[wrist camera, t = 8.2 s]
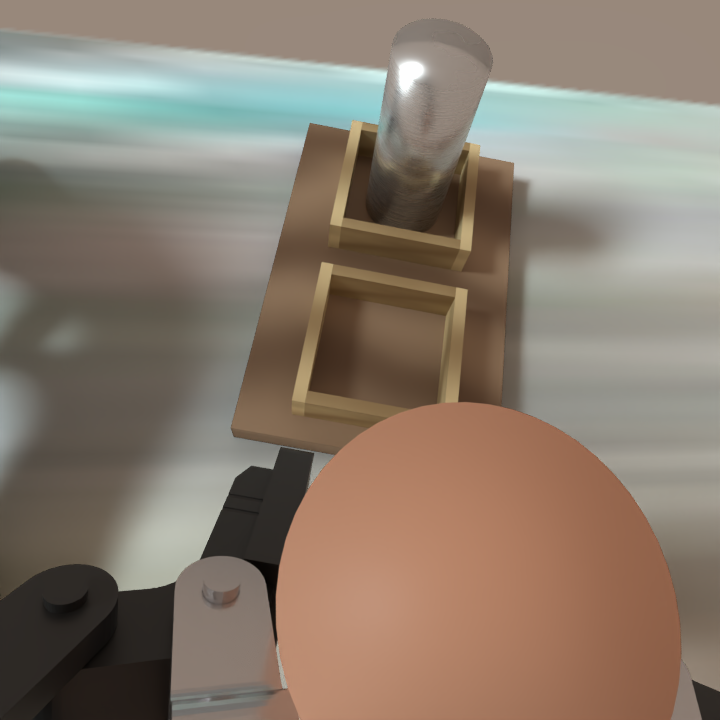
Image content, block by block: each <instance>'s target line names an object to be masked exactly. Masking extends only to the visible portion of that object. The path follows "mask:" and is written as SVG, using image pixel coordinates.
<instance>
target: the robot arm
mask: <svg viewBox="0 0 720 720" xmlns="http://www.w3.org/2000/svg"><path fill="white" fill-rule="evenodd" d="M313 456H314V453H311V452H305V451H300V450H294V449H288V448H283V447H281V448H280V451H279V454H278V457H277V460H276V463H275V466H274V469H273V470H272V469H267V468H261V467H255V466H250V467H249V468H248V469H246V470H245V471H244V472H242V473H241V474H240V475H238V476H237V477H236V478H235V480H234V482H233V485H232V487H231V489H230V492H229V495H228V496H227V499H226V501H225V503H224V505H223V509H222V510H221V512H220V515H219V517H218V519H217V522H216V524H215V526H214V529H213V531H212V533H211V535H210V538H209V540H208V542H207V545H206V547H205V549H204V552H203V554H202V556H201V558H200V560H198V561H196V562H194V563H192V564H191V565H189V566H188V567H187V568H186V569H185V570H184V571H183V572H182V573H181V574H180V575H179V577H178V579H177V581H176V582H174V583H171V584H169V585H166V586H162V587H158V588H152V589H142V590H131V591H119V592H118V586H117V583H116V581H115V580H114V578H113V577H112V576H111V575H110V574H109V573H108V572H106V571H104V570H102V569H100V568H97V567H94V566H90V565H81V564H74V565H64V566H59V567H55V568H51V569H49V570H46V571H43V572H41V573H39V574H37V575H35V576H34V577H32V578H31V579H29V580H28V581H26V582H25V583H24V584H22V585H21V586H20V587H18V588H17V589H16V590H14V591H13V592H12V593H10V594H9V595H8V596H6V597H5V598H4V599H2V600H1V601H0V720H299V716H298V712H297V710H296V707H295V705H294V702H293V700H292V697H291V695H290V692H289V690H288V688H287V689H283V688H282V684H281V679H280V673H279V666H278V660H277V653H276V646H277V641H278V637H277V629H276V591H277V582H278V573H279V565H280V561H281V557H282V553H283V549H284V544H285V540H286V537H287V534H288V532H289V529H290V526H291V524H292V521H293V518H294V516H295V513H296V511H297V509H298V507H299V506H300V504H301V502H302V500H303V498H304V496H305V494H306V492H307V490H308V484H309V479H310V473H311V468H312V462H313ZM671 720H720V692H719V691H716V690H714V689H712V688H709V687H707V686H705V685H702V684H700V683H698V682H695V681H693V680H691V676H690V673H689V671H688V669H687V667H686V665H685V663H684V662H683V661H682V659H681V665H680V678H679V686H678V691H677V696H676V701H675V706H674V710H673V714H672V717H671Z"/></svg>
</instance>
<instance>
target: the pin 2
mask: <svg viewBox="0 0 720 720" xmlns="http://www.w3.org/2000/svg"><path fill="white" fill-rule="evenodd" d="M276 629H277V637H278V644H279V652H280V659H281V663H282V667H283V670H284V674H285V678H286V682H287V686H288V690H289V692H290V695H291V697H292V700H293V702H294V705H295V707H296V710H297V712H298V715H299V718H300V720H671V717H672V714H673V710H674V706H675V701H676V696H677V691H678V686H679V678H680V665H681V632H680V620H679V613H678V607H677V600H676V595H675V591H674V587H673V583H672V580H671V576H670V572H669V568H668V566H667V563H666V561H665V558H664V555H663V553H662V550H661V548H660V545H659V542H658V540H657V538H656V536H655V535H654V533H653V531H652V529H651V527H650V525H649V523H648V521H647V519H646V517H645V516H644V514H643V512H642V511H641V509H640V508H639V506H638V505H637V503H636V502H635V500H634V499H633V497H632V496H631V494H630V493H629V492H628V491H627V489H626V488H625V487H624V486H623V484H622V483H621V482H620V481H619V480H618V478H617V477H616V476H615V475H614V474H613V473H612V472H611V471H610V470H609V469H608V468H607V467H606V466H605V465H604V464H603V463H602V462H601V461H600V460H599V459H598V458H597V457H596V456H595V455H594V454H593V453H591V452H590V451H589V450H588V449H586V448H585V447H584V446H583V445H581V444H580V443H579V442H578V441H576V440H575V439H573V438H572V437H570V436H568V435H567V434H565V433H564V432H562V431H560V430H559V429H557V428H556V427H554V426H552V425H550V424H547V423H545V422H543V421H541V420H539V419H537V418H535V417H533V416H530V415H527V414H524V413H521V412H518V411H516V410H513V409H509V408H504V407H500V406H495V405H491V404H482V403H471V402H452V403H439V404H433V405H427V406H421V407H417V408H414V409H411V410H407V411H404V412H401V413H398V414H396V415H394V416H391V417H389V418H387V419H385V420H383V421H380V422H378V423H377V424H375V425H373V426H372V427H370V428H369V429H367V430H365V431H364V432H362V433H361V434H359V435H358V436H356V437H355V438H354V439H353V440H352V441H350V442H349V443H348V444H347V445H345V446H344V447H343V448H342V449H341V450H340V451H339V452H338V453H337V454H336V455H335V456H334V457H333V458H332V459H331V460H330V461H329V462H328V463H327V465H326V466H325V467H324V468H323V469H322V470H321V472H320V473H319V475H318V476H317V477H316V479H315V480H314V482H313V483H312V485H311V486H310V487H309V489H308V490H307V492H306V494H305V496H304V498H303V500H302V502H301V504H300V506H299V507H298V509H297V511H296V513H295V516H294V518H293V521H292V524H291V526H290V529H289V532H288V534H287V537H286V540H285V544H284V549H283V553H282V557H281V561H280V565H279V573H278V582H277V591H276Z"/></svg>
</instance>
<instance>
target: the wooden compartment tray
mask: <svg viewBox="0 0 720 720" xmlns="http://www.w3.org/2000/svg"><path fill="white" fill-rule="evenodd" d="M377 131H378V125H375V124H370V123H365V122H360V121H355V120H352V125H351V130H350V131H348V130H343V129H338V128H333V127H328V126H323V125H317V124H312V123H310V125H309V128H308V132H307V136H306V140H305V144H304V148H303V152H302V155H301V159H300V163H299V167H298V171H297V175H296V179H295V182H294V186H293V190H292V194H291V198H290V202H289V206H288V209H287V213H286V217H285V221H284V225H283V229H282V232H281V236H280V240H279V244H278V248H277V252H276V256H275V259H274V263H273V267H272V271H271V275H270V279H269V283H268V286H267V290H266V294H265V298H264V302H263V306H262V310H261V313H260V317H259V321H258V325H257V329H256V333H255V337H254V340H253V344H252V348H251V352H250V356H249V360H248V364H247V367H246V371H245V375H244V379H243V383H242V387H241V391H240V394H239V398H238V402H237V406H236V410H235V414H234V418H233V421H232V425H231V430H232V433H233V436H234V437H238V438H244V439H249V440H255V441H261V442H266V443H272V444H278V445H283V446H289V447H294V448H300V449H306V450H311V451H317V452H322V453H328V454H334V455H336V454H337V453H338V452H339V451H340V450H341V449H342V448H343V447H344V446H345V445H347V444H348V443H349V442H350V441H352V440H353V439H354V438H355V437H356V436H358V435H359V434H361V433H362V432H364V431H365V430H367V429H369V428H370V427H372V426H373V425H375V424H377V423H378V422H380V421H383V420H385V419H387V418H389V417H391V416H394V415H396V414H398V413H401V412H404V411H407V410H411V409H414V408H417V407H421V406H427V405H433V404H439V403H452V402H471V403H482V404H491V405H495V406H500V407H501V402H502V383H503V364H504V345H505V326H506V306H507V287H508V268H509V249H510V230H511V210H512V191H513V172H514V163H511V162H506V161H501V160H496V159H491V158H485V157H480V156H479V153H480V145H477V144H471V143H466V142H465V144H464V147H463V149H462V152H461V155H460V158H459V160H458V163H457V166H456V169H455V172H454V174H453V177H452V180H451V183H450V185H449V188H448V191H447V194H446V197H445V199H444V202H443V205H442V208H441V210H440V213H439V216H438V219H437V221H436V222H435V224H434V225H433V226H432V227H431V228H430V229H428V230H427V231H425V232H423V233H422V232H416V231H411V230H406V229H401V228H396V227H390V226H385V225H380V224H376V223H375V222H374V221H373V220H372V219H371V217H370V216H369V214H368V212H367V208H366V195H367V189H368V183H369V178H370V172H371V166H372V160H373V154H374V148H375V142H376V137H377Z"/></svg>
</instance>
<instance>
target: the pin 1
mask: <svg viewBox="0 0 720 720" xmlns="http://www.w3.org/2000/svg"><path fill="white" fill-rule="evenodd" d="M492 59H493V58H492V54H491V51H490V48H489V47H488V45H487V44H486V42H485V41H484V40H483V39H482V38H481V37H480V36H479V35H478V34H477V33H475V32H474V31H473V30H471V29H470V28H467V27H466V26H464V25H461V24H459V23H456V22H453V21H449V20H444V19H422V20H418V21H414V22H411V23H409V24H407V25H405V26H404V27H403V28H401V29H400V30H399V31H398V32H397V34H396V35H395V37H394V39H393V43H392V49H391V55H390V60H389V66H388V72H387V78H386V84H385V90H384V96H383V101H382V107H381V113H380V119H379V125H378V131H377V137H376V142H375V148H374V154H373V160H372V166H371V172H370V178H369V183H368V189H367V195H366V208H367V212H368V214H369V216H370V217H371V219H372V220H373V221H374V222H375V223H376V224H380V225H385V226H390V227H396V228H401V229H406V230H411V231H416V232H422V233H423V232H425V231H427V230H428V229H430V228H431V227H432V226H433V225H434V224H435V222H436V221H437V219H438V216H439V213H440V210H441V208H442V205H443V202H444V199H445V197H446V194H447V191H448V188H449V185H450V183H451V180H452V177H453V174H454V172H455V169H456V166H457V163H458V160H459V158H460V155H461V152H462V149H463V147H464V144H465V141H466V138H467V136H468V133H469V130H470V127H471V124H472V122H473V119H474V116H475V113H476V111H477V108H478V105H479V102H480V99H481V97H482V94H483V91H484V88H485V86H486V83H487V80H488V77H489V75H490V72H491V69H492V64H493V60H492Z"/></svg>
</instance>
